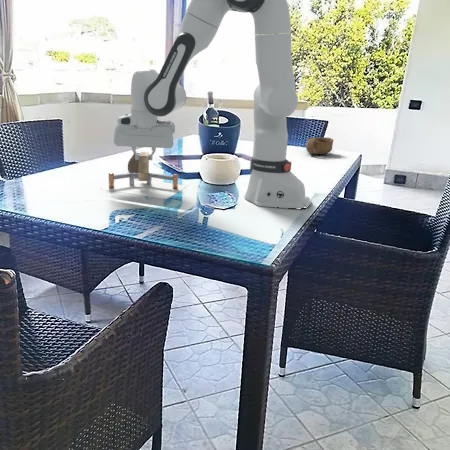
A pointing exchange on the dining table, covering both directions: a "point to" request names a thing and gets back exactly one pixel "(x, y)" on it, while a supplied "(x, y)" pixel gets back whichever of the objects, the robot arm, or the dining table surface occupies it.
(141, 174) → the wooden arch
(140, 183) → the board
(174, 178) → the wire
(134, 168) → the vase
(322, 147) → the bowl
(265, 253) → the dining table surface
